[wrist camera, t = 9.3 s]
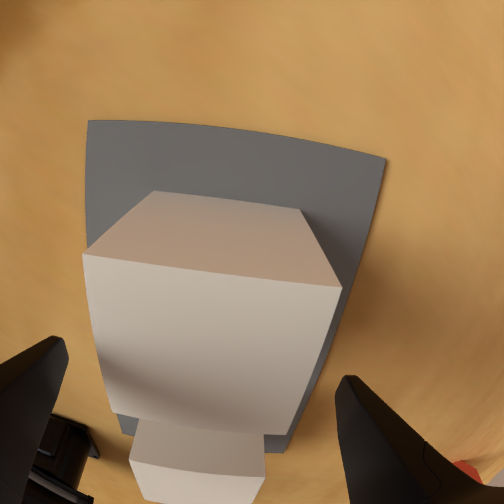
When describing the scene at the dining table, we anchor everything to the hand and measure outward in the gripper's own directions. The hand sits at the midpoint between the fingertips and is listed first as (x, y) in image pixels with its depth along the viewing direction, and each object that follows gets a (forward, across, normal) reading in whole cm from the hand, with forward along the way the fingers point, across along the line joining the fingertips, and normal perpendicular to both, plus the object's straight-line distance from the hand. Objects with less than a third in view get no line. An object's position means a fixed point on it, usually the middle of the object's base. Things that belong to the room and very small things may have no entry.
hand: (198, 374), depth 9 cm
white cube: (+7, 0, +11) cm, 13 cm away
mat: (+7, 0, +5) cm, 9 cm away
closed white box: (+7, 0, 0) cm, 7 cm away
